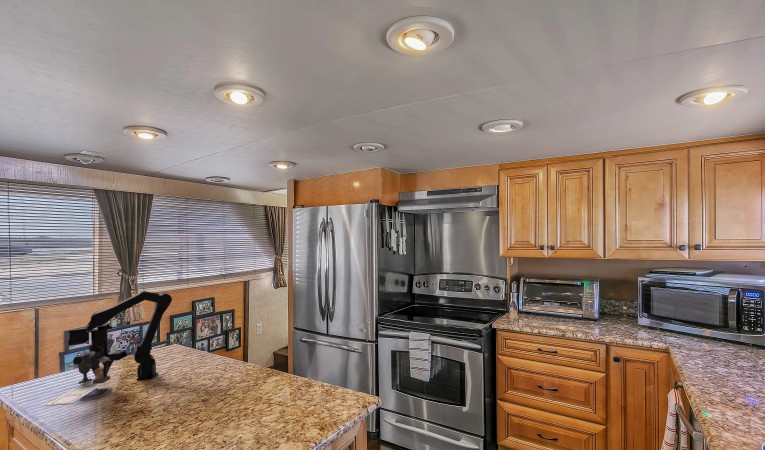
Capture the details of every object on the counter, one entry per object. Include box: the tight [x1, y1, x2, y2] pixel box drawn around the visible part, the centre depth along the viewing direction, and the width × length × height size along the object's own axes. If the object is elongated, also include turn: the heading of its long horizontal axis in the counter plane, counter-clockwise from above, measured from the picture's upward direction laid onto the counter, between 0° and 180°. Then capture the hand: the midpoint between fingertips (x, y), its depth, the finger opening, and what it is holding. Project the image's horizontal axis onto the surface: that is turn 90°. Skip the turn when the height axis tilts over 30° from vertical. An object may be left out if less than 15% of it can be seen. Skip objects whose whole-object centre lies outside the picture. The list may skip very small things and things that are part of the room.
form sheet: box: [44, 385, 100, 407], centre depth 152 cm, size 10×16×1 cm, turn 6°
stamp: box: [91, 366, 111, 385], centre depth 158 cm, size 4×4×6 cm
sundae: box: [77, 349, 93, 384], centre depth 167 cm, size 7×7×15 cm
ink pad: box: [79, 387, 112, 401], centre depth 151 cm, size 7×8×1 cm
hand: (101, 376), depth 158 cm, fingers closed on stamp, 3 cm apart
